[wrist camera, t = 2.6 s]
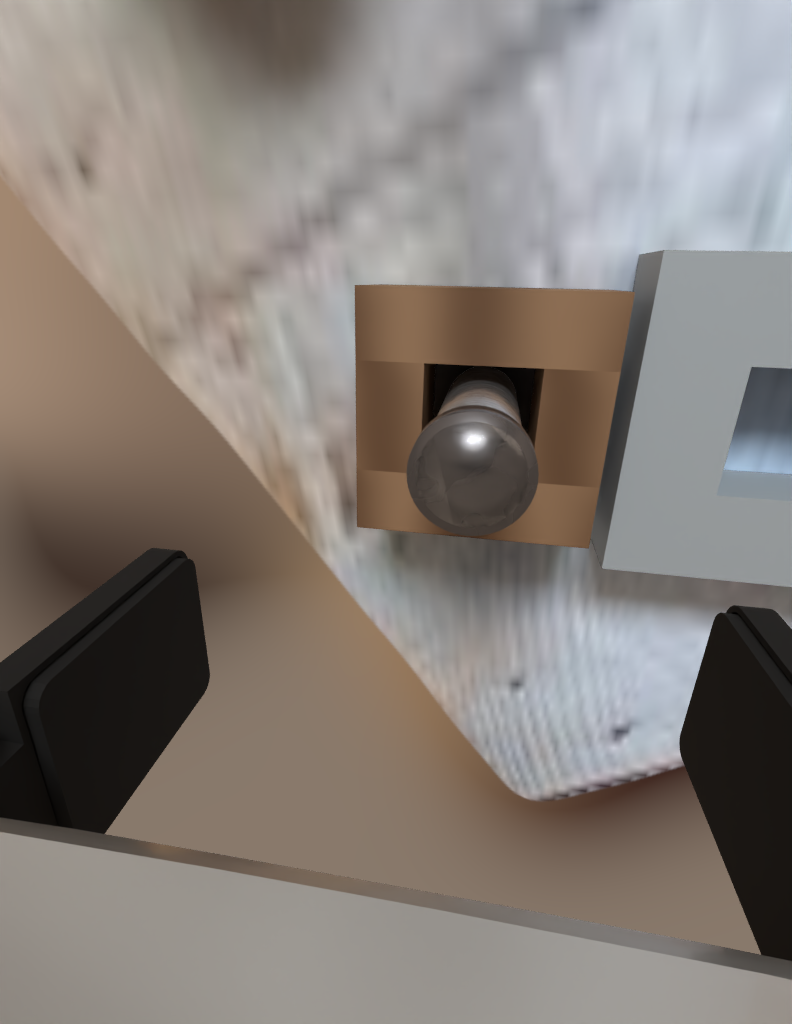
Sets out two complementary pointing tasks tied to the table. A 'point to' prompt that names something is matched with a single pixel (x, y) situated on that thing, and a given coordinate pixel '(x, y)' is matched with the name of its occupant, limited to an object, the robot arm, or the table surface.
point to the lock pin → (474, 458)
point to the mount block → (501, 343)
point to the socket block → (696, 422)
